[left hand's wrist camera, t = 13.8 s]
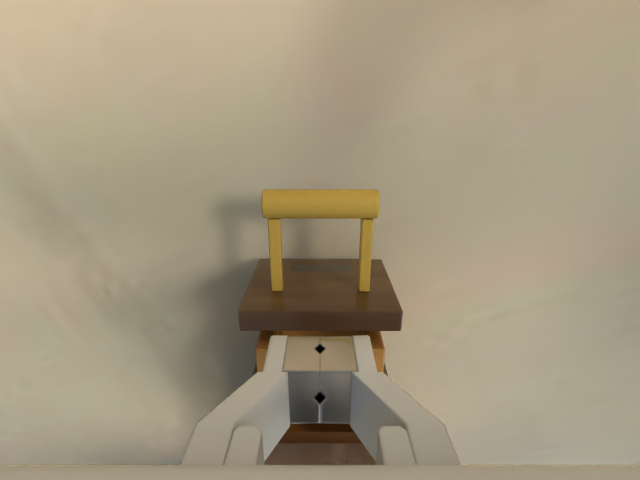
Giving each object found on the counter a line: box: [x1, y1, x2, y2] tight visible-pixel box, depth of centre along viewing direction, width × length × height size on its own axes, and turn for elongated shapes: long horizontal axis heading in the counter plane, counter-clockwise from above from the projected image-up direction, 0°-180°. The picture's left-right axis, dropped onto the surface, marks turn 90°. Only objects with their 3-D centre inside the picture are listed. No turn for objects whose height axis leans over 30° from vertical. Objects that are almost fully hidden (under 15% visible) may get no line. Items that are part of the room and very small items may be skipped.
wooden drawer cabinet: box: [253, 362, 388, 465], centre depth 26 cm, size 14×10×8 cm, turn 0°
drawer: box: [238, 190, 403, 432], centre depth 22 cm, size 19×8×7 cm, turn 0°
